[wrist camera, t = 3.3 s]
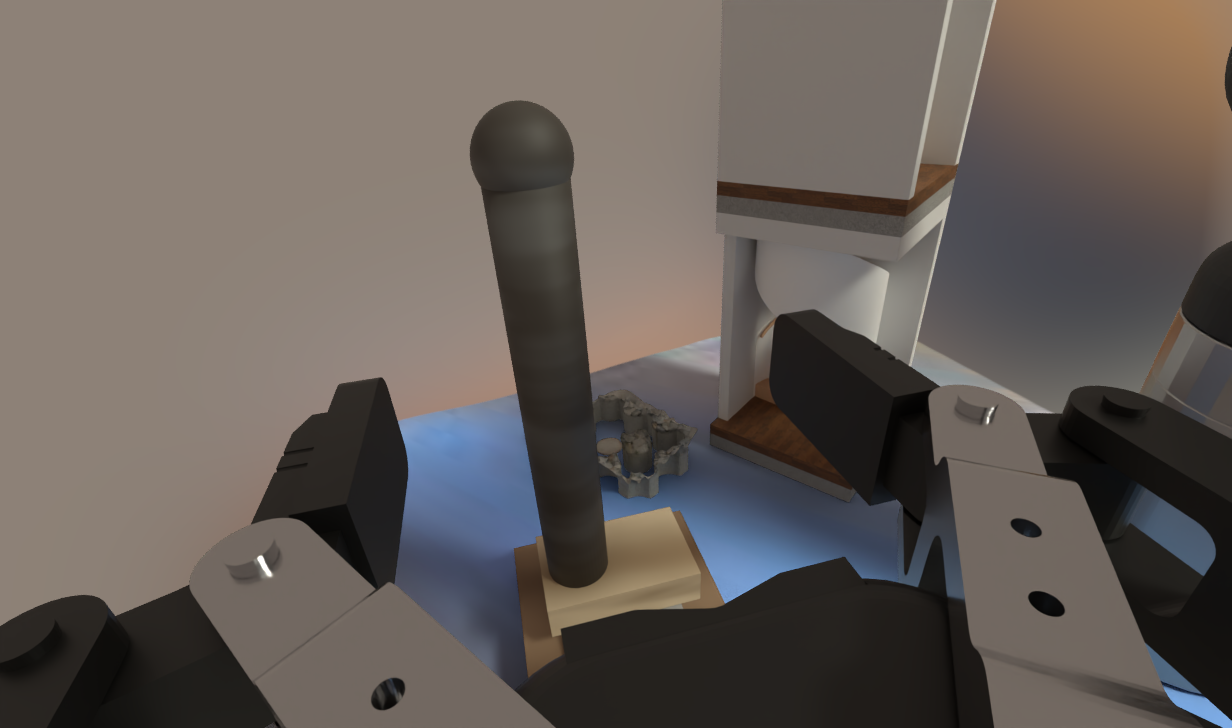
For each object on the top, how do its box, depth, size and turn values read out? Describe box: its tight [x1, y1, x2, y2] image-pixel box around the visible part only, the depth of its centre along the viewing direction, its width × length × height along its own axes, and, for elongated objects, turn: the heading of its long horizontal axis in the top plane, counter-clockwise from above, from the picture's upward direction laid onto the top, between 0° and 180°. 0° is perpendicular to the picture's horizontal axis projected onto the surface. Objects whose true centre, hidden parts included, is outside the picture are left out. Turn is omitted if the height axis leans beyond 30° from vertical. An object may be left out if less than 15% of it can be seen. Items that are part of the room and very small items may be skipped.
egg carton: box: [592, 390, 698, 499], centre depth 45 cm, size 11×8×4 cm
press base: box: [514, 511, 725, 678], centre depth 28 cm, size 18×11×5 cm, turn 14°
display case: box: [710, 0, 996, 503], centre depth 37 cm, size 11×11×35 cm
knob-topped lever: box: [470, 101, 701, 637], centre depth 25 cm, size 5×8×24 cm, turn 104°
